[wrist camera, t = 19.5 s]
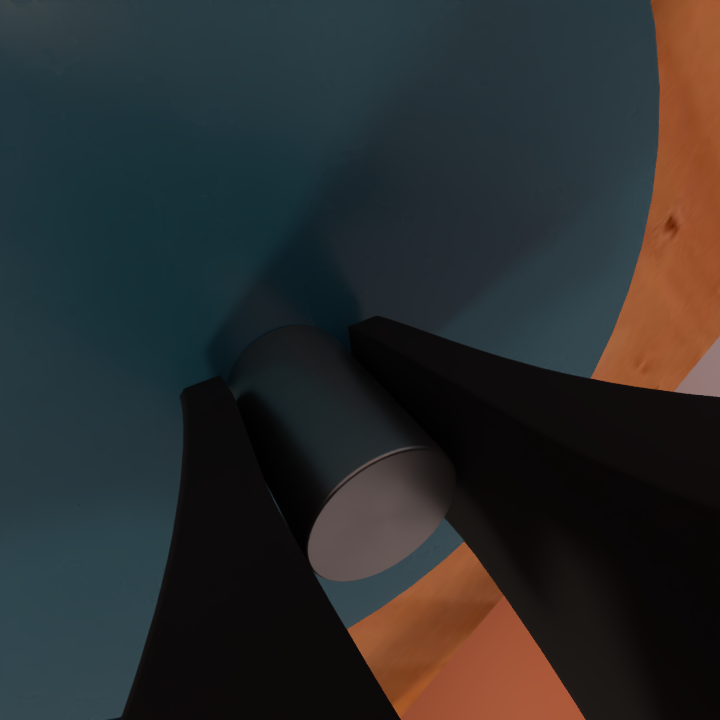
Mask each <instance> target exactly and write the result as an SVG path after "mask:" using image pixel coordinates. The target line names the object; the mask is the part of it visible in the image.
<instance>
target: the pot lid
mask: <svg viewBox="0 0 720 720" xmlns="http://www.w3.org/2000/svg"><path fill="white" fill-rule="evenodd" d="M659 95H660V85H659V72H658V58H657V45H656V32H655V23H654V17H653V12H652V6H651V1H650V0H0V720H108V719H114V718H118V717H121V716H122V713H123V711H124V708H125V705H126V702H127V699H128V696H129V693H130V690H131V687H132V684H133V681H134V678H135V675H136V672H137V669H138V666H139V662H140V659H141V656H142V652H143V649H144V645H145V642H146V639H147V635H148V632H149V629H150V625H151V622H152V618H153V615H154V612H155V608H156V604H157V600H158V596H159V592H160V588H161V584H162V580H163V576H164V572H165V568H166V563H167V559H168V554H169V549H170V544H171V539H172V534H173V527H174V521H175V514H176V508H177V502H178V495H179V488H180V479H181V466H182V452H183V414H182V406H181V401H180V397H179V396H180V394H181V393H182V391H183V389H184V388H186V387H189V386H192V385H194V384H197V383H199V382H202V381H205V380H207V379H210V378H213V377H215V376H218V375H220V376H221V377H222V379H223V380H224V382H225V383H226V384H227V386H228V387H229V389H230V391H231V392H232V394H233V395H234V398H235V401H236V403H237V406H238V409H239V412H240V414H241V417H242V420H243V422H244V425H245V428H246V431H247V433H248V436H249V439H250V442H251V444H252V447H253V450H254V452H255V455H256V458H257V461H258V463H259V466H260V469H261V472H262V474H263V477H264V480H265V482H266V484H267V486H268V489H269V491H270V493H271V495H272V498H273V500H274V502H275V504H276V506H277V507H278V509H279V511H280V513H281V515H282V516H283V518H284V520H285V522H286V524H287V526H288V527H289V529H290V531H291V533H292V535H293V536H294V538H295V540H296V542H297V544H298V546H299V547H300V549H301V551H302V553H303V554H304V556H305V558H306V560H307V561H308V563H309V565H310V567H311V569H312V570H313V572H314V574H315V576H316V577H317V579H318V581H319V583H320V584H321V586H322V588H323V590H324V591H325V593H326V595H327V597H328V598H329V600H330V602H331V604H332V605H333V607H334V609H335V610H336V612H337V614H338V616H339V617H340V619H341V621H342V622H343V624H344V626H345V627H346V629H348V628H349V627H351V626H353V625H354V624H356V623H357V622H359V621H361V620H362V619H364V618H365V617H367V616H369V615H370V614H372V613H373V612H375V611H377V610H378V609H380V608H381V607H382V606H384V605H385V604H387V603H388V602H390V601H391V600H392V599H394V598H395V597H397V596H398V595H399V594H401V593H402V592H404V591H405V590H406V589H408V588H409V587H411V586H412V585H413V584H415V583H416V582H417V581H418V580H420V579H421V578H422V577H423V576H424V575H426V574H427V573H428V572H429V571H431V570H432V569H433V568H434V567H436V566H437V565H438V564H439V563H441V562H442V561H443V560H444V559H445V558H446V557H448V556H449V555H450V554H451V553H452V552H453V551H454V550H455V549H456V548H457V547H459V546H460V545H461V544H462V543H463V542H464V540H463V539H462V538H461V536H460V535H459V534H458V533H457V532H456V531H455V529H454V528H453V527H452V526H451V525H450V524H449V523H448V521H447V520H446V519H445V518H444V517H445V515H446V513H447V512H448V510H449V508H450V506H451V503H452V501H453V498H454V495H455V491H456V484H457V475H456V470H455V467H454V464H453V462H452V460H451V459H450V457H449V456H448V455H447V454H446V453H445V452H444V451H443V450H442V449H441V448H440V447H439V446H438V445H437V443H436V442H435V441H434V440H433V439H432V438H431V437H430V436H429V435H428V434H427V433H426V432H425V431H424V430H423V429H422V428H421V427H420V426H419V425H418V424H417V423H416V421H415V420H414V419H413V418H412V417H411V416H410V415H409V414H408V413H407V412H406V411H405V410H404V409H403V408H402V407H401V406H400V405H399V404H398V403H397V402H396V401H395V400H394V398H393V397H392V396H391V395H390V394H389V393H388V392H387V391H386V390H385V389H384V388H383V387H382V386H381V385H380V384H379V383H378V382H377V381H376V380H375V379H374V378H373V376H372V375H371V374H370V373H369V372H368V371H367V370H366V369H365V368H364V367H363V366H362V365H361V364H360V363H359V362H358V361H357V360H356V359H355V358H354V357H353V356H352V353H351V346H350V339H349V332H348V326H350V325H353V324H356V323H358V322H361V321H363V320H366V319H369V318H371V317H374V316H381V317H384V318H388V319H391V320H394V321H397V322H400V323H403V324H406V325H409V326H412V327H415V328H417V329H420V330H423V331H426V332H429V333H432V334H434V335H437V336H440V337H443V338H446V339H449V340H452V341H455V342H458V343H461V344H464V345H467V346H470V347H473V348H476V349H479V350H482V351H485V352H488V353H491V354H495V355H498V356H501V357H505V358H508V359H512V360H515V361H519V362H523V363H526V364H530V365H533V366H537V367H541V368H545V369H549V370H553V371H557V372H561V373H566V374H571V375H576V376H580V377H585V378H591V376H592V374H593V372H594V370H595V368H596V366H597V364H598V362H599V360H600V358H601V356H602V354H603V351H604V349H605V347H606V345H607V343H608V341H609V339H610V337H611V334H612V332H613V330H614V327H615V324H616V322H617V319H618V317H619V314H620V311H621V309H622V306H623V304H624V301H625V298H626V296H627V293H628V291H629V287H630V284H631V280H632V277H633V274H634V270H635V267H636V264H637V260H638V257H639V254H640V250H641V247H642V242H643V238H644V233H645V228H646V223H647V219H648V214H649V209H650V204H651V199H652V193H653V184H654V176H655V168H656V159H657V151H658V134H659Z"/></svg>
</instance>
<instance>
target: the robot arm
mask: <svg viewBox="0 0 720 720" xmlns="http://www.w3.org/2000/svg"><path fill="white" fill-rule="evenodd" d="M348 332H349V339H350V346H351V353H352V356H353V357H354V358H355V359H356V360H357V361H358V362H359V363H360V364H361V365H362V366H363V367H364V368H365V369H366V370H367V371H368V372H369V373H370V374H371V375H372V376H373V378H374V379H375V380H376V381H377V382H378V383H379V384H380V385H381V386H382V387H383V388H384V389H385V390H386V391H387V392H388V393H389V394H390V395H391V396H392V397H393V398H394V400H395V401H396V402H397V403H398V404H399V405H400V406H401V407H402V408H403V409H404V410H405V411H406V412H407V413H408V414H409V415H410V416H411V417H412V418H413V419H414V420H415V421H416V423H417V424H418V425H419V426H420V427H421V428H422V429H423V430H424V431H425V432H426V433H427V434H428V435H429V436H430V437H431V438H432V439H433V440H434V441H435V442H436V443H437V445H438V446H439V447H440V448H441V449H442V450H443V451H444V452H445V453H446V454H447V455H448V456H449V457H450V459H451V460H452V462H453V464H454V467H455V470H456V475H457V484H456V491H455V495H454V498H453V501H452V503H451V506H450V508H449V510H448V512H447V513H446V515H445V517H444V518H445V519H446V520H447V521H448V523H449V524H450V525H451V526H452V527H453V528H454V529H455V531H456V532H457V533H458V534H459V535H460V536H461V538H462V539H463V540H464V541H465V543H466V544H467V545H468V546H469V548H470V549H471V550H472V551H473V553H474V554H475V555H476V557H477V558H478V559H479V561H480V562H481V564H482V565H483V566H484V568H485V569H486V571H487V572H488V573H489V575H490V576H491V578H492V579H493V580H494V582H495V583H496V585H497V586H498V588H499V589H500V590H501V592H502V593H503V595H504V596H505V597H506V599H507V600H508V601H509V603H510V605H511V606H512V608H513V609H514V611H515V612H516V614H517V615H518V616H519V618H520V619H521V621H522V622H523V624H524V625H525V627H526V628H527V630H528V631H529V633H530V634H531V636H532V637H533V639H534V640H535V642H536V643H537V644H538V646H539V647H540V649H541V651H542V652H543V653H544V655H545V657H546V658H547V660H548V661H549V663H550V664H551V666H552V668H553V669H554V671H555V672H556V674H557V675H558V677H559V678H560V680H561V682H562V683H563V685H564V686H565V688H566V689H567V691H568V692H569V694H570V695H571V697H572V699H573V700H574V702H575V703H576V705H577V706H578V708H579V709H580V711H581V713H582V714H583V716H584V718H585V719H586V720H720V397H713V396H703V395H692V394H684V393H677V392H670V391H663V390H655V389H648V388H641V387H634V386H628V385H622V384H616V383H610V382H605V381H600V380H595V379H590V378H585V377H580V376H576V375H571V374H566V373H561V372H557V371H553V370H549V369H545V368H541V367H537V366H533V365H530V364H526V363H523V362H519V361H515V360H512V359H508V358H505V357H501V356H498V355H495V354H491V353H488V352H485V351H482V350H479V349H476V348H473V347H470V346H467V345H464V344H461V343H458V342H455V341H452V340H449V339H446V338H443V337H440V336H437V335H434V334H432V333H429V332H426V331H423V330H420V329H417V328H415V327H412V326H409V325H406V324H403V323H400V322H397V321H394V320H391V319H388V318H384V317H381V316H374V317H371V318H369V319H366V320H363V321H361V322H358V323H356V324H353V325H350V326H348ZM179 397H180V401H181V406H182V414H183V452H182V466H181V479H180V488H179V495H178V502H177V508H176V514H175V521H174V527H173V534H172V539H171V544H170V549H169V554H168V559H167V563H166V568H165V572H164V576H163V580H162V584H161V588H160V592H159V596H158V600H157V604H156V608H155V612H154V615H153V618H152V622H151V625H150V629H149V632H148V635H147V639H146V642H145V645H144V649H143V652H142V656H141V659H140V662H139V666H138V669H137V672H136V675H135V678H134V681H133V684H132V687H131V690H130V693H129V696H128V699H127V702H126V705H125V708H124V711H123V713H122V716H121V719H120V720H401V719H400V718H399V716H398V714H397V713H396V711H395V709H394V708H393V706H392V705H391V703H390V701H389V700H388V698H387V696H386V695H385V693H384V691H383V690H382V688H381V686H380V685H379V683H378V682H377V680H376V678H375V677H374V675H373V673H372V672H371V670H370V668H369V667H368V665H367V663H366V661H365V660H364V658H363V656H362V655H361V653H360V651H359V650H358V648H357V646H356V644H355V643H354V641H353V639H352V638H351V636H350V634H349V633H348V631H347V629H346V627H345V626H344V624H343V622H342V621H341V619H340V617H339V616H338V614H337V612H336V610H335V609H334V607H333V605H332V604H331V602H330V600H329V598H328V597H327V595H326V593H325V591H324V590H323V588H322V586H321V584H320V583H319V581H318V579H317V577H316V576H315V574H314V572H313V570H312V569H311V567H310V565H309V563H308V561H307V560H306V558H305V556H304V554H303V553H302V551H301V549H300V547H299V546H298V544H297V542H296V540H295V538H294V536H293V535H292V533H291V531H290V529H289V527H288V526H287V524H286V522H285V520H284V518H283V516H282V515H281V513H280V511H279V509H278V507H277V506H276V504H275V502H274V500H273V498H272V495H271V493H270V491H269V489H268V486H267V484H266V482H265V480H264V477H263V474H262V472H261V469H260V466H259V463H258V461H257V458H256V455H255V452H254V450H253V447H252V444H251V442H250V439H249V436H248V433H247V431H246V428H245V425H244V422H243V420H242V417H241V414H240V412H239V409H238V406H237V403H236V401H235V398H234V395H233V394H232V392H231V391H230V389H229V387H228V386H227V384H226V383H225V382H224V380H223V379H222V377H221V376H220V375H218V376H215V377H213V378H210V379H207V380H205V381H202V382H199V383H197V384H194V385H192V386H189V387H186V388H184V389H183V391H182V393H181V394H180V396H179Z"/></svg>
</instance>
